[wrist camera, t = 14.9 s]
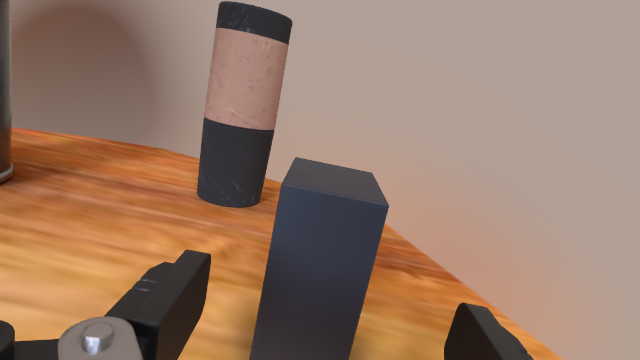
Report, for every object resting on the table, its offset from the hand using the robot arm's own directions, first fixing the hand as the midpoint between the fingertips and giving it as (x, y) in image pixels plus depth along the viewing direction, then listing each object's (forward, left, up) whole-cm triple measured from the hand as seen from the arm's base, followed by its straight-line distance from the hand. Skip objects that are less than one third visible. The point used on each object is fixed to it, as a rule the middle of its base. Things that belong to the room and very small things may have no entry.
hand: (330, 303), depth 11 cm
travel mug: (-18, +26, -8) cm, 32 cm away
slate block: (-2, +7, -8) cm, 10 cm away
